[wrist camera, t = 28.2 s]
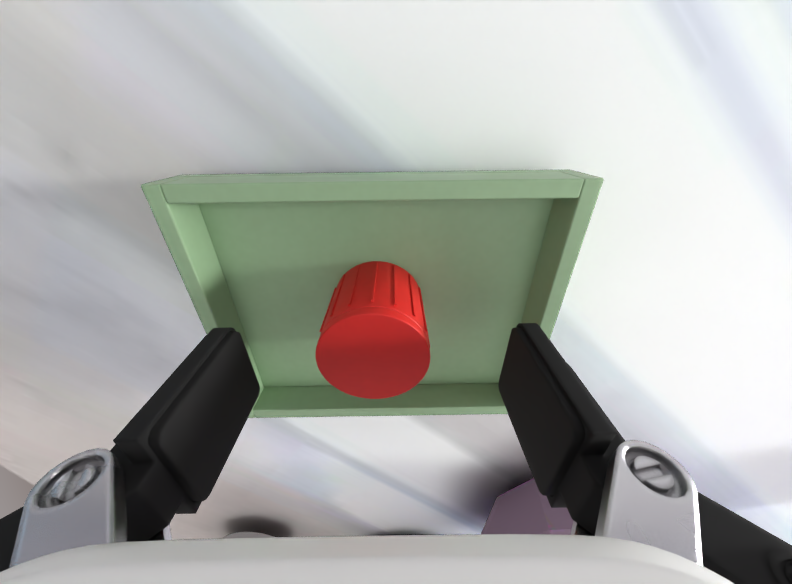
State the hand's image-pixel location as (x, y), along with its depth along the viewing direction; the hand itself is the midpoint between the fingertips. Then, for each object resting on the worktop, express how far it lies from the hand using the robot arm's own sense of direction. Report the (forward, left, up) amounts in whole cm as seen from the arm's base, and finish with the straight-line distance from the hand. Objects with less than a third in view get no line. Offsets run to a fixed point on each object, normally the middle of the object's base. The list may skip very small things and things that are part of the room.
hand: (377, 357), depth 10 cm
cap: (0, 0, -3) cm, 3 cm away
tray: (0, 0, -4) cm, 4 cm away
